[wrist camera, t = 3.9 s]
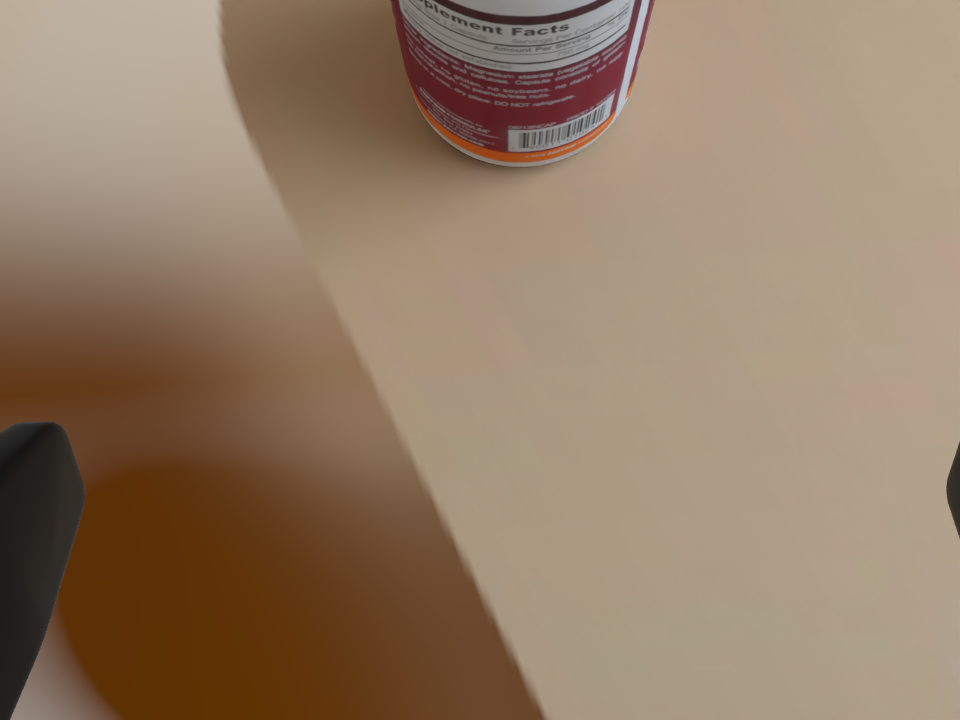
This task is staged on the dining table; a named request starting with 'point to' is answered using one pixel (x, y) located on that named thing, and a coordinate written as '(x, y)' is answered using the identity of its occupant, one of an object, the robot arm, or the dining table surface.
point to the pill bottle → (521, 71)
